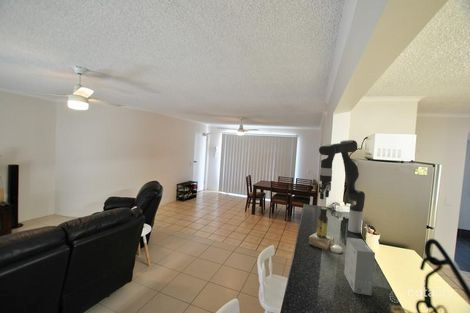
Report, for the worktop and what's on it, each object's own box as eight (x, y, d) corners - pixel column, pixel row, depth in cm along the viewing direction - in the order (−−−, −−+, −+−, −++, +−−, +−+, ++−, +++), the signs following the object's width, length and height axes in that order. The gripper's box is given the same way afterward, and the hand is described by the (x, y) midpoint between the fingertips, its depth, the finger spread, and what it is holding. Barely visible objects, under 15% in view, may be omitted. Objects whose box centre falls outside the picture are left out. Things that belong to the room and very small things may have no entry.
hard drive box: (372, 296, 95) (375, 253, 94) (353, 293, 97) (356, 251, 96) (359, 275, 110) (362, 238, 109) (343, 273, 112) (346, 236, 111)
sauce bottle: (315, 234, 148) (316, 206, 147) (323, 234, 148) (325, 206, 147) (319, 238, 141) (321, 209, 140) (328, 238, 142) (330, 209, 141)
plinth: (316, 238, 154) (316, 231, 153) (333, 244, 145) (334, 236, 145) (308, 243, 145) (309, 235, 145) (326, 250, 137) (326, 242, 137)
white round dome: (332, 246, 142) (332, 243, 142) (343, 250, 138) (343, 247, 137) (328, 250, 138) (328, 246, 137) (339, 254, 133) (339, 250, 132)
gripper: (324, 173, 150) (323, 195, 151) (315, 174, 140) (314, 198, 141) (335, 174, 145) (334, 197, 146) (327, 176, 135) (325, 201, 136)
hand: (324, 198), depth 144 cm, fingers open, 8 cm apart
